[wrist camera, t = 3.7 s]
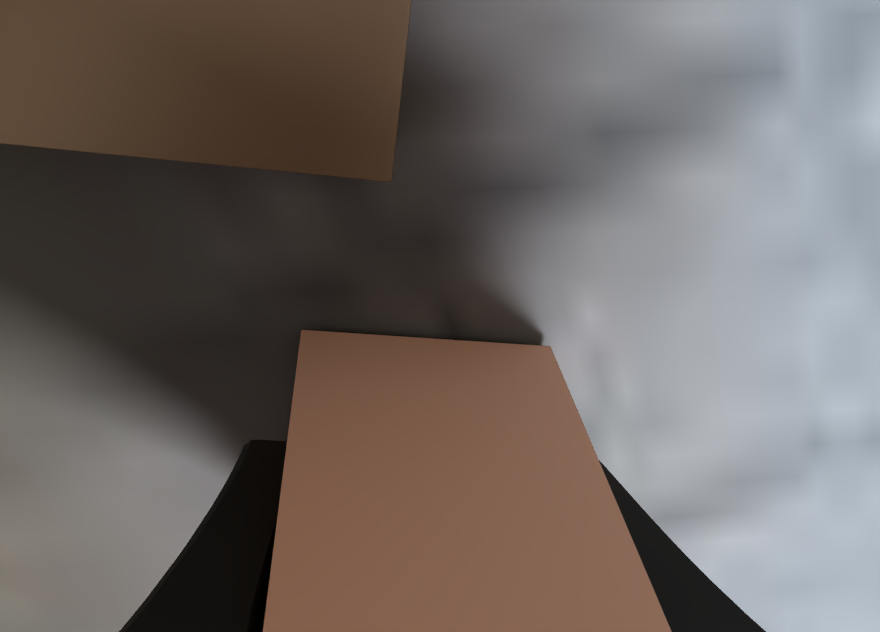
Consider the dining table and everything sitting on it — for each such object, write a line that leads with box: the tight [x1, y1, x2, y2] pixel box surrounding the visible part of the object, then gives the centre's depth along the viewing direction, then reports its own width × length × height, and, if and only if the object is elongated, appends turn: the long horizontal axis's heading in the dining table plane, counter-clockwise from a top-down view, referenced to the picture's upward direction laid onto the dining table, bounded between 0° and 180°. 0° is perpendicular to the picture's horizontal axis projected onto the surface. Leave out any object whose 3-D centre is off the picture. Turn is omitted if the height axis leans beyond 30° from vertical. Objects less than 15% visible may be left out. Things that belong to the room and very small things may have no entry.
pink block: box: [263, 330, 672, 632], centre depth 10 cm, size 4×4×6 cm
